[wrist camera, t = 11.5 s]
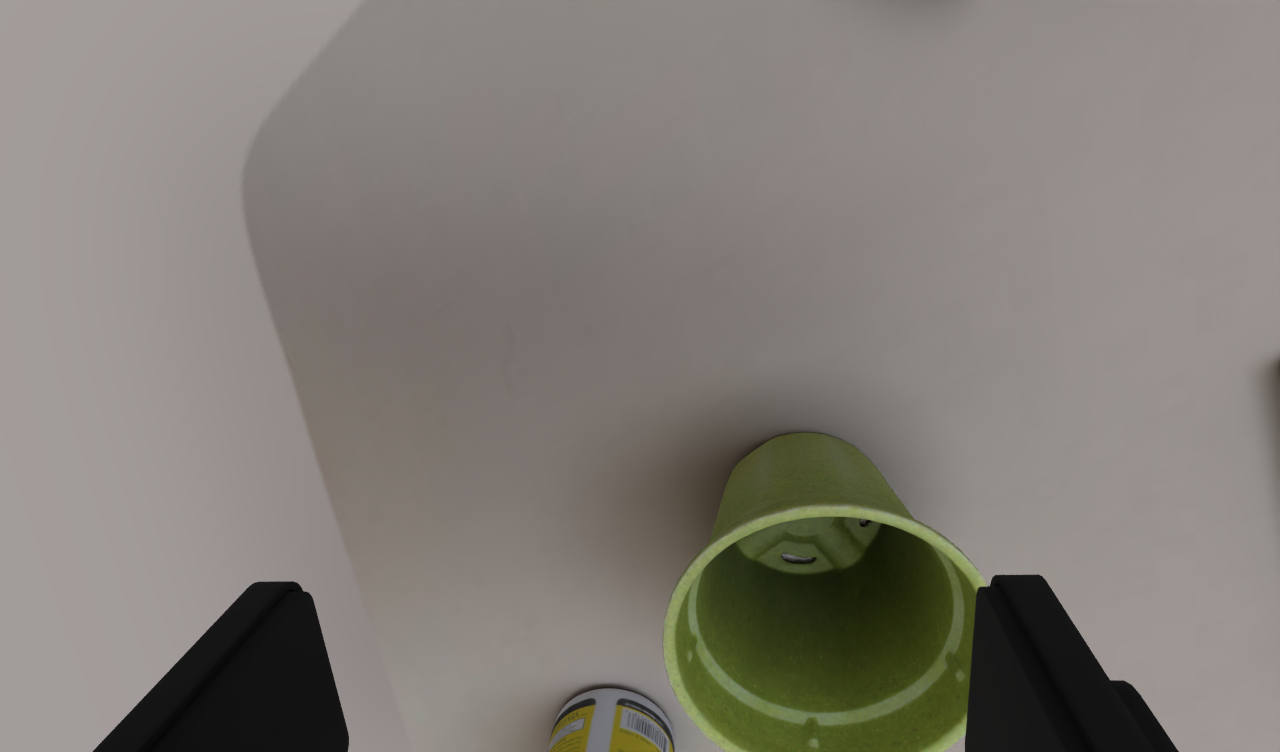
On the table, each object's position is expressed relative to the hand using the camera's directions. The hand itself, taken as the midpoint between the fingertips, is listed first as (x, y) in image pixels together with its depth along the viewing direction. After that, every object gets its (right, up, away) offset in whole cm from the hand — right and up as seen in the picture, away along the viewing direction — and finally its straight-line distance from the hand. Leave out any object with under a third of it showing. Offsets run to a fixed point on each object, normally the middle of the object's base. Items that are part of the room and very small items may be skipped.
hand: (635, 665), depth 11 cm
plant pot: (+6, -1, +19) cm, 20 cm away
